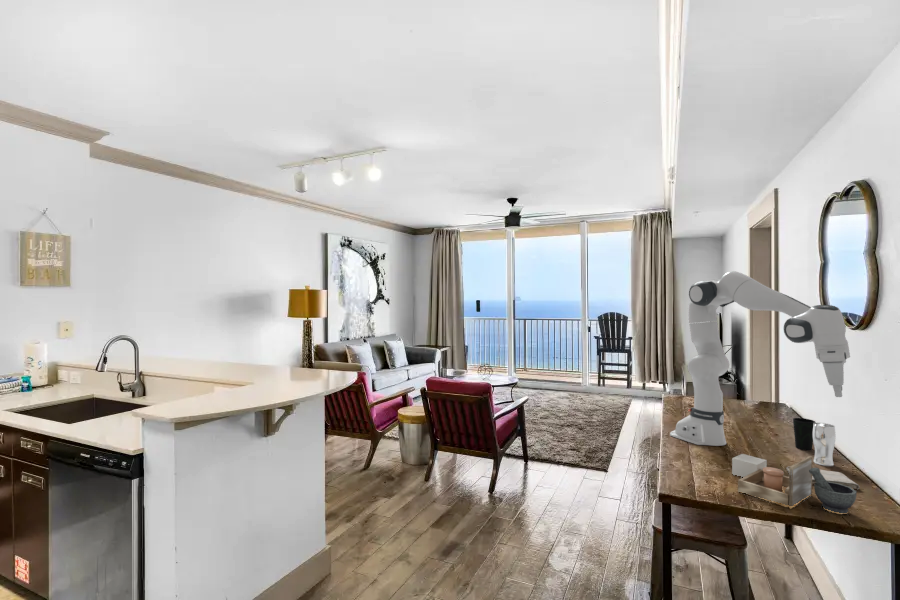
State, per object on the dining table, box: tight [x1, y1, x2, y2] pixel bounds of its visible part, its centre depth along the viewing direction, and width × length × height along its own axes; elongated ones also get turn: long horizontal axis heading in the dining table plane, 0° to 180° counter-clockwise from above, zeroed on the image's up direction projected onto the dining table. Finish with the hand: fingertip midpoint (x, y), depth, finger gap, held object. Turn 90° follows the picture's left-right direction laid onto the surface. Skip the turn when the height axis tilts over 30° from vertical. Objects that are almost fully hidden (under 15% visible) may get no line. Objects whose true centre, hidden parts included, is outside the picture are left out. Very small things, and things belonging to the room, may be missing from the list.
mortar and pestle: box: [809, 467, 857, 513], centre depth 140 cm, size 11×9×12 cm
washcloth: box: [785, 465, 861, 491], centre depth 162 cm, size 12×18×3 cm, turn 71°
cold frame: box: [737, 455, 813, 506], centre depth 151 cm, size 15×17×13 cm
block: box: [731, 453, 768, 478], centre depth 166 cm, size 8×8×6 cm
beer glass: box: [812, 422, 837, 467], centre depth 179 cm, size 7×7×15 cm
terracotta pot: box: [763, 466, 785, 492], centre depth 151 cm, size 6×6×7 cm
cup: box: [792, 417, 817, 452], centre depth 196 cm, size 8×8×12 cm
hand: (839, 393), depth 156 cm, fingers open, 8 cm apart
